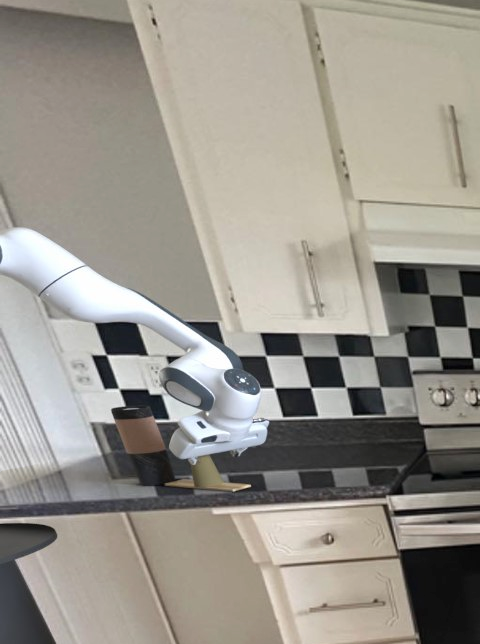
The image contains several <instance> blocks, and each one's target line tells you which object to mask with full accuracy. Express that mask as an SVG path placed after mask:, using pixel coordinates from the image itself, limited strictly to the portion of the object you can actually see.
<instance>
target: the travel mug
mask: <svg viewBox="0 0 480 644" xmlns="http://www.w3.org/2000/svg"><path fill="white" fill-rule="evenodd" d="M110 411H111V414H112V417H113V421H114V423H115V426H116V428H117V431H118V433H119V437H120V438H121V442H122V444H123V447H124V449H125V451H126V454H127V456H128V459H129V461H130V463H131V466H132V468H133V470H134V473H135V475H136V477H137V479H138V482H139V484H140V485H142V486H161V485H165V484H166V483H170V482H174V481H177V479H176V475H175V472H174V469H173V466H172V463H171V459H170V456H169V453H168V451H167V447H166V445H165V442H164V440H163V438H162V435H161V432H160V429H159V426H158V424H157V422H156V419H155V417H154V413H153V411H152V409H151V406H150V405H143V404H142V405H140V404H139V405H125V406H124V405H123V406H117V407H112V408H111V409H110Z"/></svg>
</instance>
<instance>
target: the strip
mask: <svg viewBox="0 0 480 644" xmlns="http://www.w3.org/2000/svg"><path fill="white" fill-rule="evenodd" d="M223 482H224V481H223ZM164 486H165V487H174V488H186V489H187V488H188V489H197V490H198V489H199V490H211V491H223V492H233V493H234V492H237V491H240V490H244V489H247V488H251V487H252V485H251V484H247V483H235V482H224V483H223V484H220V485H216V486H210V487H195V486H194V481H193V479H188V478H182V479H179V480H175V481H173V482H170V483H166V484H164Z"/></svg>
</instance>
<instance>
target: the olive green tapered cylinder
mask: <svg viewBox="0 0 480 644" xmlns="http://www.w3.org/2000/svg"><path fill="white" fill-rule="evenodd" d="M198 458H199V459H200V460H201V461H200V464H196V465H192V464H191V463H190V462H189V464H190V469H191V475H192V480H193V481H194V486H195V487H210V486H216V485H220V484H223V483H224V480H223V478H222V476H221V474H220V472H219V470H218V468H217V467H216V464H215V463H214V461H213V459H212V457H211V454H208V455H203V456H198Z"/></svg>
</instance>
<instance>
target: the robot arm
mask: <svg viewBox="0 0 480 644" xmlns="http://www.w3.org/2000/svg"><path fill="white" fill-rule="evenodd" d="M0 276H5V277H7V278H10V279H12V280H14V281H15V282H17V283H18V284H20V285H22V286H23V287H24V288H26V289H28V290H29V291H30V292H31V293H32V294H34V295H35V296H36V297H38V298H40V299H41V300H42V301H43V302H44V303H46V304H47V305H48V306H50V307H51V308H53V309H54V310H55V311H57V312H59V313H61V314H62V315H64V316H66V317H68V318H70V319H72V320H75V321H79V322H83V323H90V324H108V323H131V324H137V325H141V326H144V327H146V328H148V329H150V330H152V331H153V332H154V333H156V334H158V335H160V336H161V337H163V338H164V339H166V340H167V341H169V342H170V343H172V344H174V345H175V346H176V347H178V348H180V349H182V350H183V351H184V352H185V354H183V355H182V356H180V357H179V358H176V359H174V360H173V361H172V362H170V363H169V364H167V365H165V366H164V367H163V368H162V369H160V371H159V373H158V378H159V382H160V384H161V386H162V388H163V390H164V391H165V392H166V394H168V395H169V396H170V397H171V398H172V399H174V400H176V401H178V402H180V403H182V404H184V405H186V406H189V407H192V408H194V409H198V410H200V411H199V412H196V413H194V414H191V415H189V416H186V417H182V418H180V419H179V420H178V421H177V425H178V426H179V427H178V428H177V429H176V430H174V432H173V433H172V436H171V439H170V441H169V445H168V449H169V451H170V452H171V453H172V454H173V456H175V457H176V458H178V459H180V460H188V463H189V464H190V463H191V464H192V465H196V464H200V461H201V460H200V459H199V458H198V456H203V455H208V454H210V455H212V454H218V453H219V454H220V453H225V452H229V455H231V456H232V458H236V457H240V456H241V455H242V453H243V452H244V451H246V450H247V449H248V448H251V447H256V446H261V445H263V444H264V443H265V442H266V440H267V436H268V427H269V424H270V420H268V418H265V417H257V418H254V417H255V415H256V413H257V412H258V410H259V406H260V402H261V397H262V389H261V386H260V382H259V381H258V379H256V377H254V375H252V374H251V373H249V372H247V371H245V370H244V367H243V365H244V364H243V362H242V360H241V359H240V357H239V355H238V354H237V353H236V352H235V351H234V350H233V349H232V348H230V347H228V346H227V345H225V344H224V343H222V342H219V341H217V340H215V339H213V338H212V337H210V336H208V335H206V334H204V333H203V332H201V331H200V330H199V329H197V328H196V327H194V326H193V325H191V324H189V323H187V322H186V321H185V320H183V319H182V318H180V317H179V316H177V315H176V314H174V313H173V312H171V311H170V310H168V309H167V308H165V307H164V306H162V305H161V304H159V303H158V302H156V301H155V300H153V299H151V298H150V297H148V296H147V295H144V294H143V293H141V292H139V291H137V290H135V289H132V288H129V287H124V286H122V285H120V284H118V283H115V282H113V281H111V280H109V279H108V278H105V277H104V276H103V275H101V274H99V273H98V272H97V271H95V270H94V269H92V268H91V267H90V266H88V265H87V264H86V263H85V262H84V261H82V260H81V259H79V258H78V257H76V256H75V255H74V254H73V253H71V252H69V251H68V250H67V249H65V248H64V247H62V246H60V245H59V244H58V243H56V242H55V241H53V240H52V239H50V238H48V237H46V236H44V235H43V234H41V233H40V232H38V231H36V230H33V229H31V228H29V227H22V226H16V227H15V226H13V227H9V228H8V227H7V228H5V229H2V230H0ZM191 464H190V465H191Z"/></svg>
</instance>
